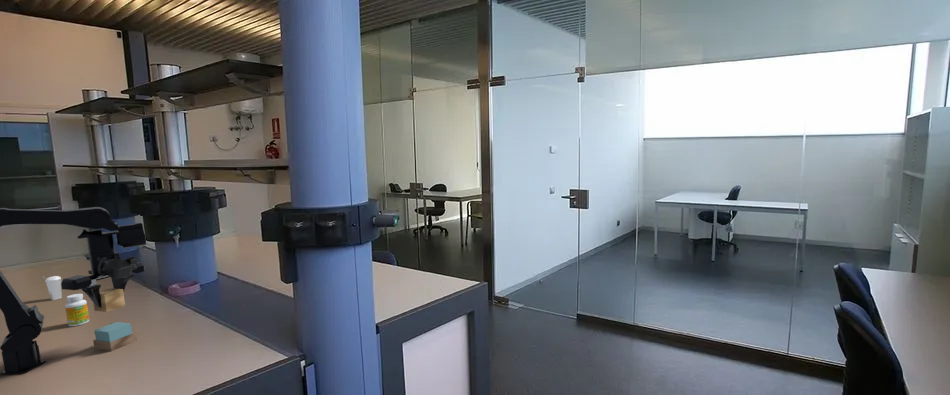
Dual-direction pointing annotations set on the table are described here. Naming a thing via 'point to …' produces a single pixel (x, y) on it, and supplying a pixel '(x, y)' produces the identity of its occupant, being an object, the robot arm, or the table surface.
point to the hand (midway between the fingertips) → (109, 304)
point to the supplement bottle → (76, 310)
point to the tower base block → (115, 343)
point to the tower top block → (113, 332)
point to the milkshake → (54, 287)
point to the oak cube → (111, 300)
